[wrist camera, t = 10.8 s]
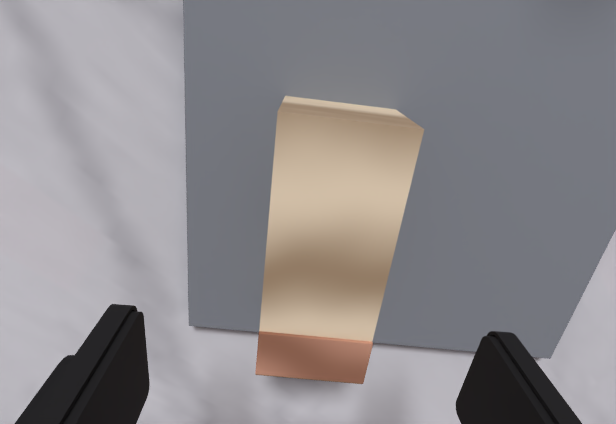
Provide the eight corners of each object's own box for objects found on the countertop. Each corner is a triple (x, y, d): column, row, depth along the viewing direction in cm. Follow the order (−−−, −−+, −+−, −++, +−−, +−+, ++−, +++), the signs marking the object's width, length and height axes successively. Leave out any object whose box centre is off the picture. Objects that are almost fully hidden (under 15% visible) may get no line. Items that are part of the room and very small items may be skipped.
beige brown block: (285, 95, 16) (277, 111, 12) (395, 109, 17) (425, 130, 12) (265, 311, 21) (255, 377, 17) (351, 319, 22) (362, 386, 17)
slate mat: (192, 316, 22) (188, 325, 22) (187, -93, 14) (181, -100, 14) (542, 348, 23) (550, 358, 23) (720, -16, 15) (741, -20, 15)
